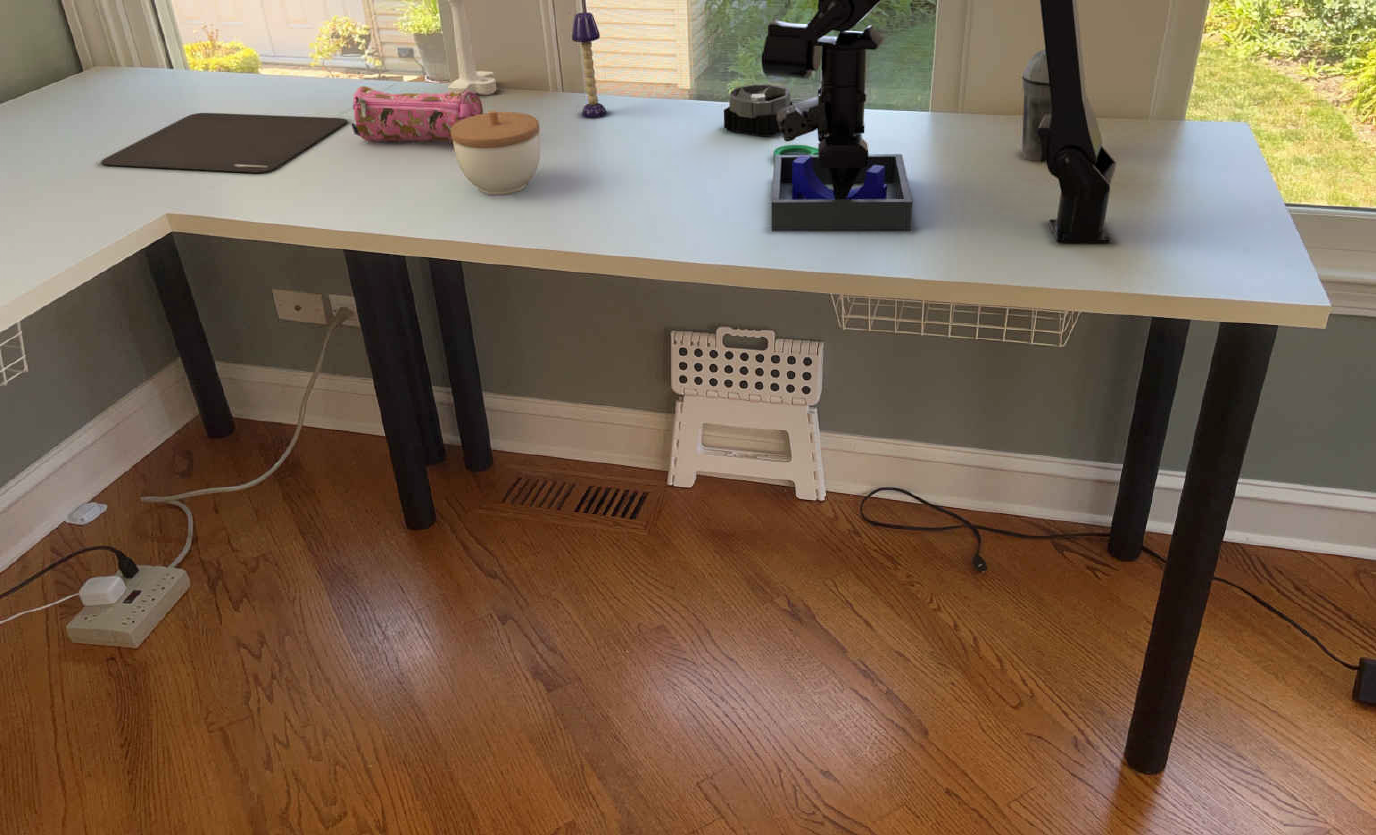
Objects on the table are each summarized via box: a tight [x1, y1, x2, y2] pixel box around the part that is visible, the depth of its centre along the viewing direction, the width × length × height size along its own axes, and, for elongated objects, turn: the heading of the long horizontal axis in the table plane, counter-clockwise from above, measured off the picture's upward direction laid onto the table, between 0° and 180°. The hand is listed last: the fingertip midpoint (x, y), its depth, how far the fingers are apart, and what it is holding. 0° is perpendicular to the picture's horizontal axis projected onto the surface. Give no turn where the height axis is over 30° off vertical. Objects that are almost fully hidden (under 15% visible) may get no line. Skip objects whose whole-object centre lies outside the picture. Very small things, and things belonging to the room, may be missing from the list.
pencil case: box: [351, 85, 484, 144], centre depth 179 cm, size 21×9×9 cm, turn 74°
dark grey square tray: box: [770, 153, 913, 232], centre depth 150 cm, size 18×18×4 cm
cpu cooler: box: [723, 83, 794, 137], centre depth 179 cm, size 10×6×10 cm
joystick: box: [446, 0, 497, 96], centre depth 199 cm, size 11×8×20 cm
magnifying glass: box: [773, 144, 818, 157], centre depth 165 cm, size 15×6×2 cm, turn 66°
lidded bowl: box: [451, 110, 541, 195], centre depth 160 cm, size 13×13×11 cm
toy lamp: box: [571, 11, 607, 119], centre depth 186 cm, size 5×5×17 cm
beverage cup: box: [1021, 48, 1052, 162], centre depth 159 cm, size 7×7×20 cm
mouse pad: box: [100, 112, 348, 174], centre depth 185 cm, size 32×27×1 cm
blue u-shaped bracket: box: [791, 154, 888, 200], centre depth 150 cm, size 12×4×6 cm, turn 62°
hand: (839, 196), depth 150 cm, fingers closed on blue u-shaped bracket, 5 cm apart
